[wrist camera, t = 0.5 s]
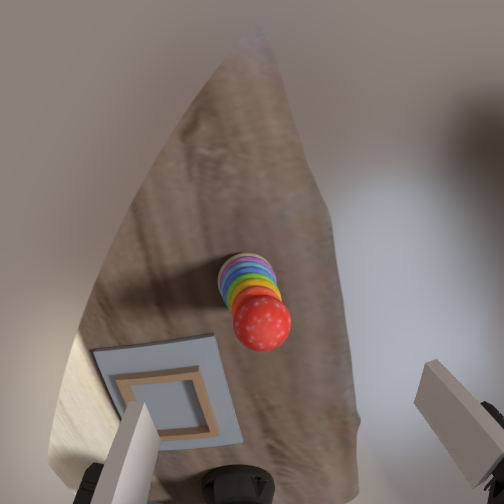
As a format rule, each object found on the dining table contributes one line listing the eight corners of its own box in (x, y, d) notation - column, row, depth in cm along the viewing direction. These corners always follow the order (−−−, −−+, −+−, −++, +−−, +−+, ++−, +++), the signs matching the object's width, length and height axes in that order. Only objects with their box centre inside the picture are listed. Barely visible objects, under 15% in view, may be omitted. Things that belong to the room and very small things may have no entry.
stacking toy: (206, 284, 41) (194, 337, 22) (241, 240, 41) (257, 259, 22) (250, 317, 42) (269, 386, 24) (284, 274, 42) (330, 317, 23)
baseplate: (242, 438, 45) (244, 449, 42) (140, 446, 43) (136, 457, 40) (214, 333, 42) (213, 341, 39) (95, 348, 40) (88, 357, 37)
